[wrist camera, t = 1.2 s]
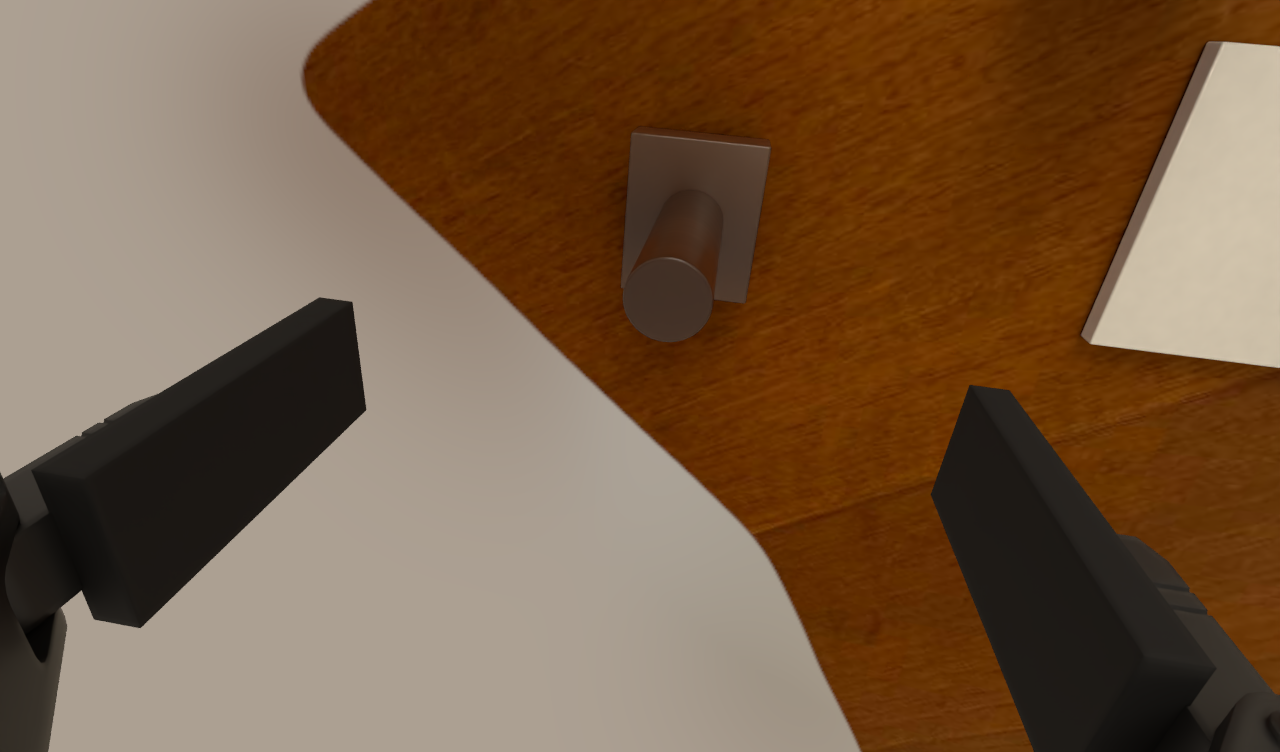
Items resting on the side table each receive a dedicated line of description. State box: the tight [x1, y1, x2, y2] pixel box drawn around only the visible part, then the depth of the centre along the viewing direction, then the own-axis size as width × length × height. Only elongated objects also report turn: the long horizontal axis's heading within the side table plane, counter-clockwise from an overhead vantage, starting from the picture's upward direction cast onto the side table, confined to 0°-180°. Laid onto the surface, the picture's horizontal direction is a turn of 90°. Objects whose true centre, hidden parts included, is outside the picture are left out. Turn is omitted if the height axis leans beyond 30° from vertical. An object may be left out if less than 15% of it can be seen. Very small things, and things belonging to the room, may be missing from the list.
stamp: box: [621, 126, 771, 342], centre depth 24 cm, size 6×5×12 cm
